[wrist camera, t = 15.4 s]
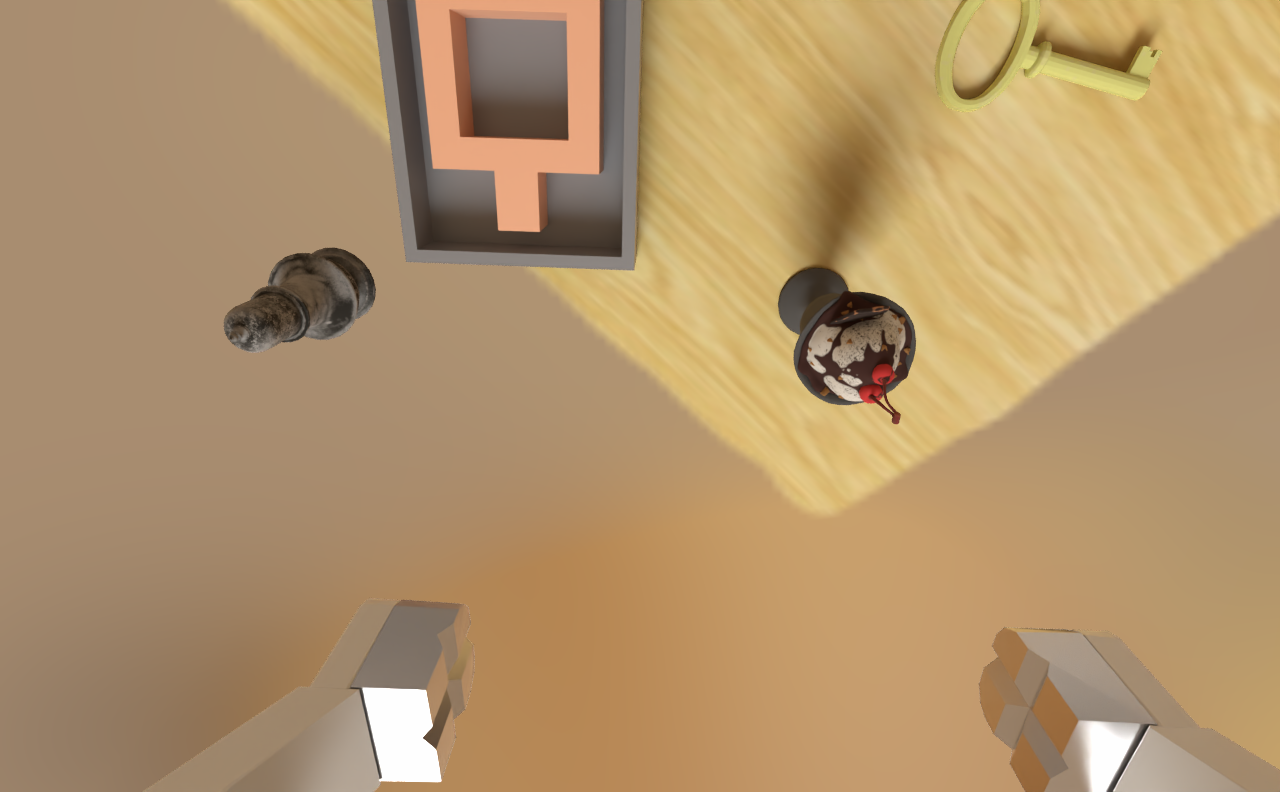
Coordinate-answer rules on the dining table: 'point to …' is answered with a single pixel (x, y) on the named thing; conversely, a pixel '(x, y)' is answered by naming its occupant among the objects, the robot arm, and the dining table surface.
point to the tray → (515, 107)
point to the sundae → (846, 339)
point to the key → (1036, 63)
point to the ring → (513, 158)
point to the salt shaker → (303, 301)
